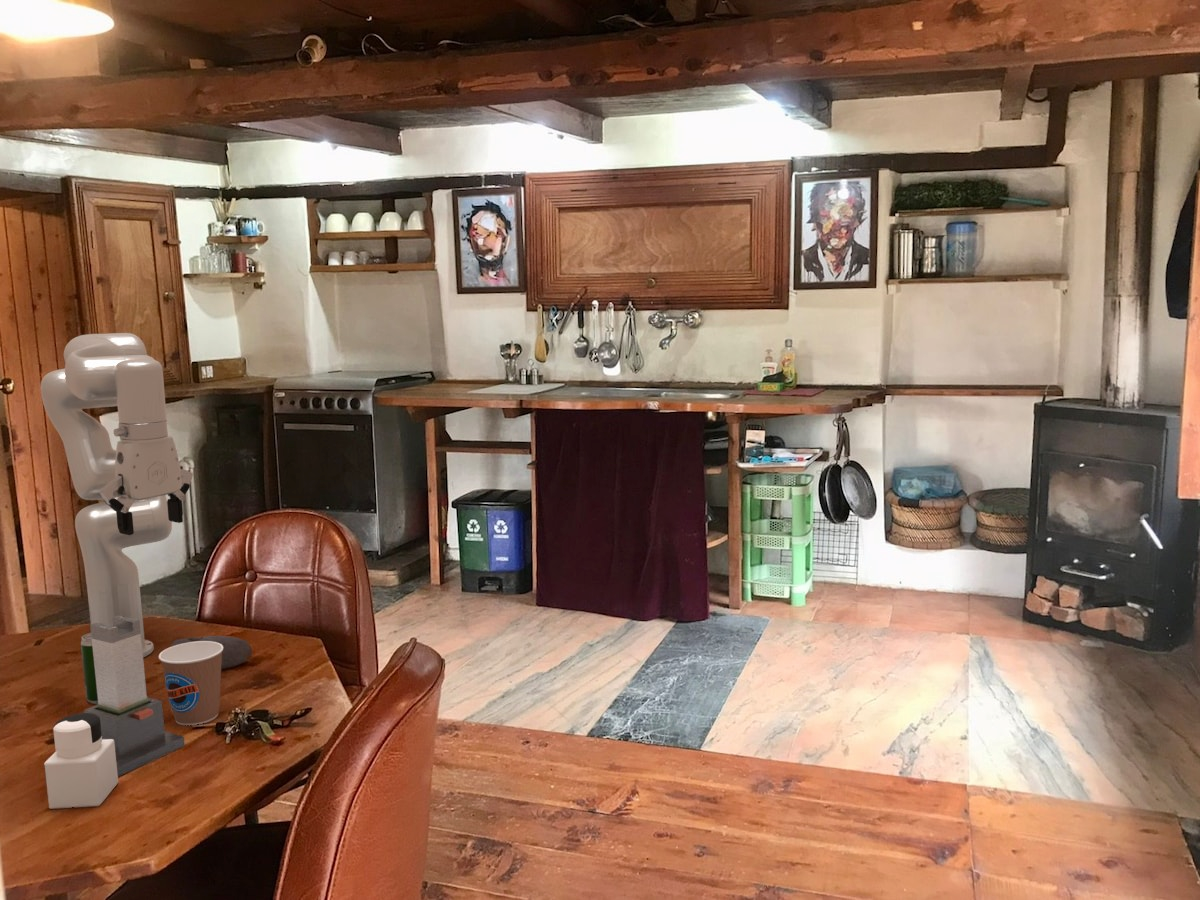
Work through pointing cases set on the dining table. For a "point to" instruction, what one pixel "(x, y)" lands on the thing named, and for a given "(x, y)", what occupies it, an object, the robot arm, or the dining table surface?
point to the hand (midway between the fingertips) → (151, 527)
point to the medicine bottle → (80, 763)
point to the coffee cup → (193, 680)
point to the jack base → (137, 735)
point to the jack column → (119, 665)
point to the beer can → (89, 669)
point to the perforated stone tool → (225, 649)
